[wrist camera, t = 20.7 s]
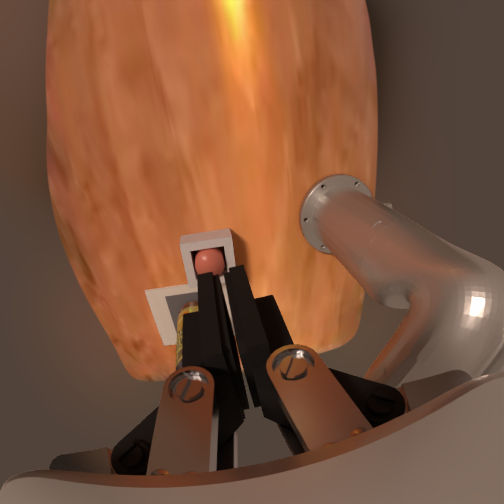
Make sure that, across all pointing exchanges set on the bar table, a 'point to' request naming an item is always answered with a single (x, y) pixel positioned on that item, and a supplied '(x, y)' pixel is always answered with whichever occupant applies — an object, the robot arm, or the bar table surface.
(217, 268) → the button
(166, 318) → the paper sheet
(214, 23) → the bar table surface
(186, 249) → the button housing
